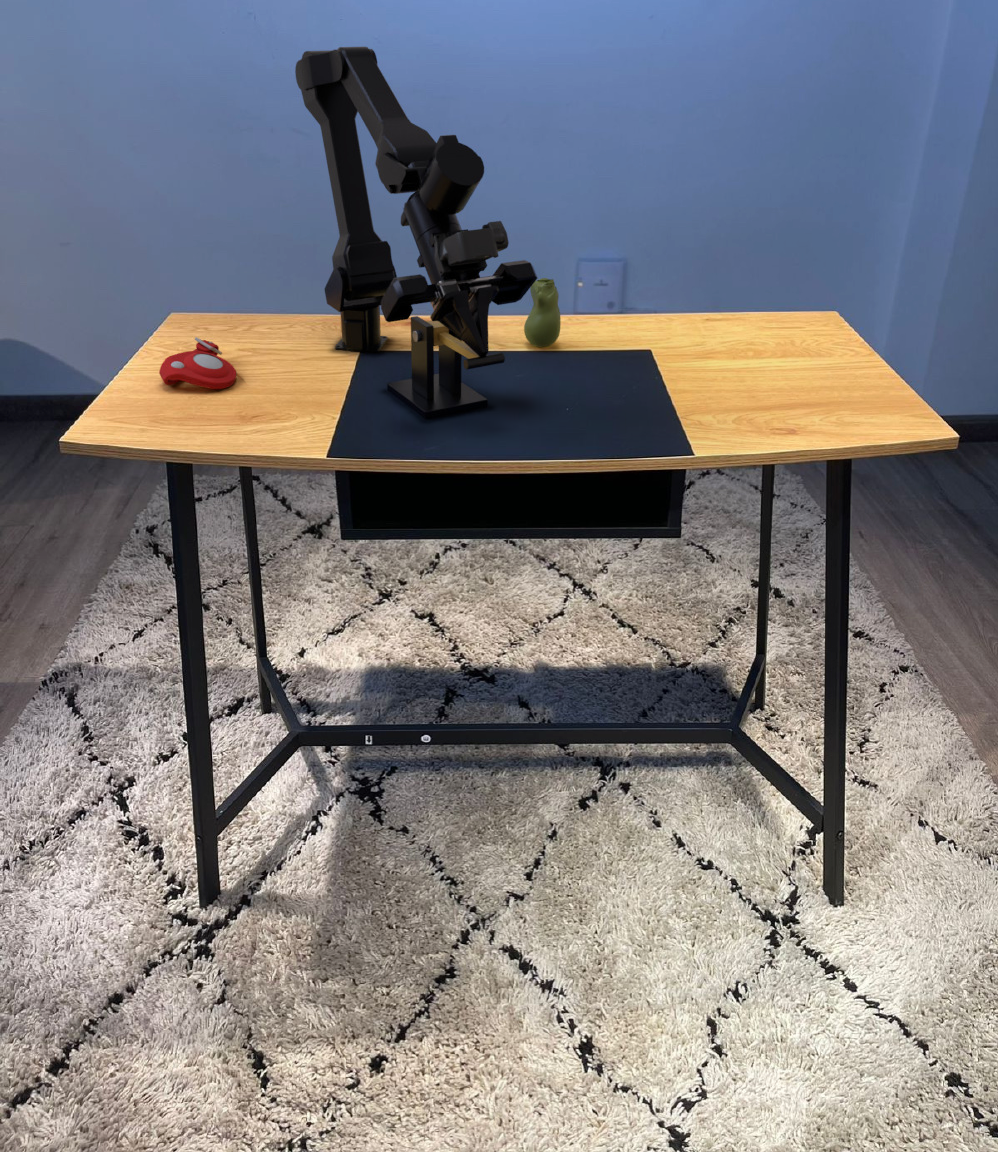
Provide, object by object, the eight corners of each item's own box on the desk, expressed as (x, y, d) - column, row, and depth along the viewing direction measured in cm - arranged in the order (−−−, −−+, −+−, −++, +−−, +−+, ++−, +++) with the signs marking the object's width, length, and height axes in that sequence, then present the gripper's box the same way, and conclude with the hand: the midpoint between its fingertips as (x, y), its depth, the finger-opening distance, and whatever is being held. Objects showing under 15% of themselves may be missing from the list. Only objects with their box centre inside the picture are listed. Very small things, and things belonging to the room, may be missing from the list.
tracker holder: (249, 377, 135) (175, 373, 129) (242, 406, 138) (169, 403, 132) (219, 331, 142) (148, 325, 137) (213, 358, 145) (142, 354, 139)
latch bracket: (487, 408, 132) (489, 326, 126) (425, 421, 128) (424, 337, 122) (446, 380, 140) (446, 302, 134) (387, 391, 136) (384, 311, 130)
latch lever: (504, 368, 122) (505, 349, 120) (468, 375, 119) (468, 356, 118) (448, 336, 132) (448, 317, 131) (413, 342, 130) (413, 323, 128)
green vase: (563, 351, 151) (567, 283, 146) (528, 353, 150) (531, 285, 145) (553, 338, 156) (556, 273, 150) (519, 340, 154) (522, 274, 149)
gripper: (388, 204, 111) (436, 333, 109) (532, 190, 119) (580, 309, 117) (361, 260, 121) (405, 379, 118) (496, 243, 129) (539, 354, 127)
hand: (484, 354), depth 120 cm, fingers closed, pressing on latch lever
